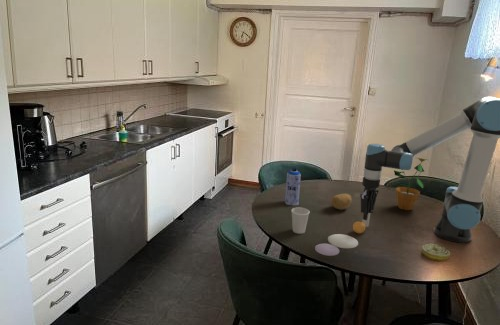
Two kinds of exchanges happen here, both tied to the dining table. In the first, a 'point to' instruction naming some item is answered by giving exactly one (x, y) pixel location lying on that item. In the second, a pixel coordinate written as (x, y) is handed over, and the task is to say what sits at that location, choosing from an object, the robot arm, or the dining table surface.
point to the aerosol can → (292, 187)
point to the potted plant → (408, 190)
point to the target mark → (342, 241)
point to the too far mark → (327, 249)
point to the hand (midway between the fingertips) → (365, 225)
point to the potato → (341, 201)
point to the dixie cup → (299, 219)
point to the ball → (359, 227)
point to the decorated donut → (435, 252)
